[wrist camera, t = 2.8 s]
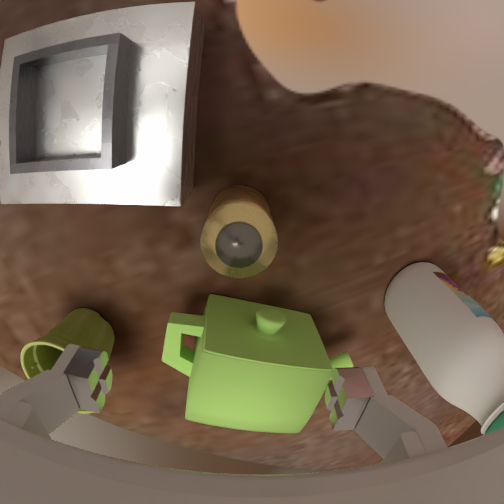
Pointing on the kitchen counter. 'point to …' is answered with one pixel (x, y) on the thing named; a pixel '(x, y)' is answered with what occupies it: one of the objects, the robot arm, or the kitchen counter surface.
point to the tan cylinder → (239, 233)
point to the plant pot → (67, 341)
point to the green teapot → (250, 365)
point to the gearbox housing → (102, 108)
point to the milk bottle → (450, 341)
